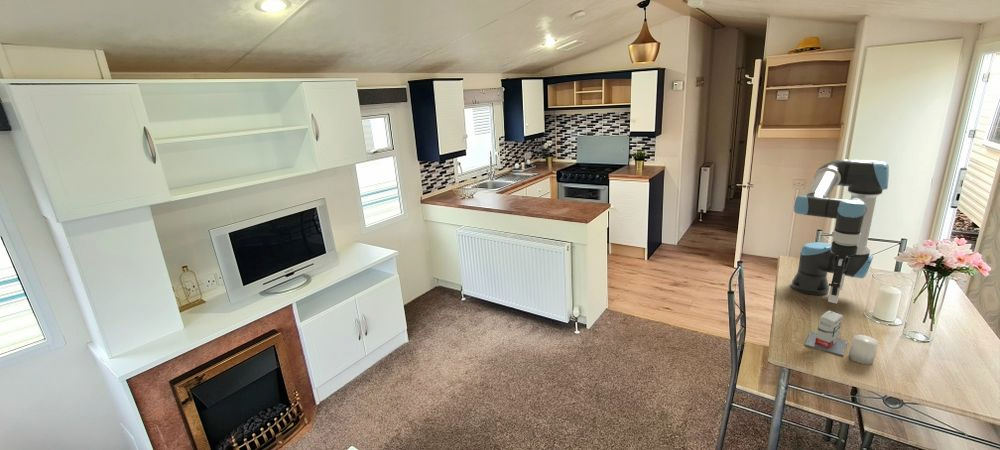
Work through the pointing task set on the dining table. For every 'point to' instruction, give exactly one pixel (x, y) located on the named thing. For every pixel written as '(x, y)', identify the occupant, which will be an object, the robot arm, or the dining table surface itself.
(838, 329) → the ink box
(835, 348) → the slate tile
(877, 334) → the dining table surface
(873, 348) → the white rounded cylinder
